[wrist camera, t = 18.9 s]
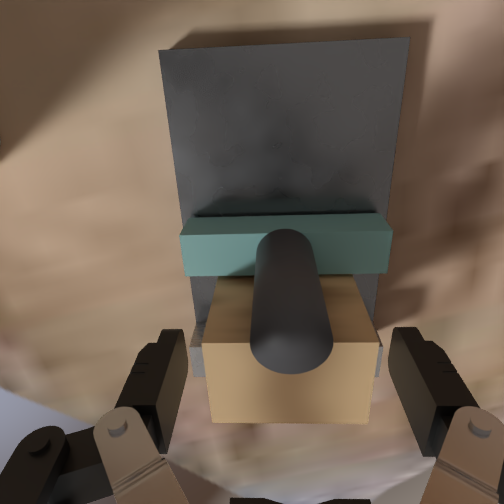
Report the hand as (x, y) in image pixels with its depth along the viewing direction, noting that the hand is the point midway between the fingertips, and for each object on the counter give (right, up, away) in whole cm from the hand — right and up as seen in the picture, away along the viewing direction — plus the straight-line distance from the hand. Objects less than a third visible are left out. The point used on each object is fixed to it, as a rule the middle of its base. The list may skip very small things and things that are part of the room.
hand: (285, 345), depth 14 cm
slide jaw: (+1, +5, +8) cm, 9 cm away
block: (+1, +1, +10) cm, 10 cm away
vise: (+1, +6, +9) cm, 11 cm away
